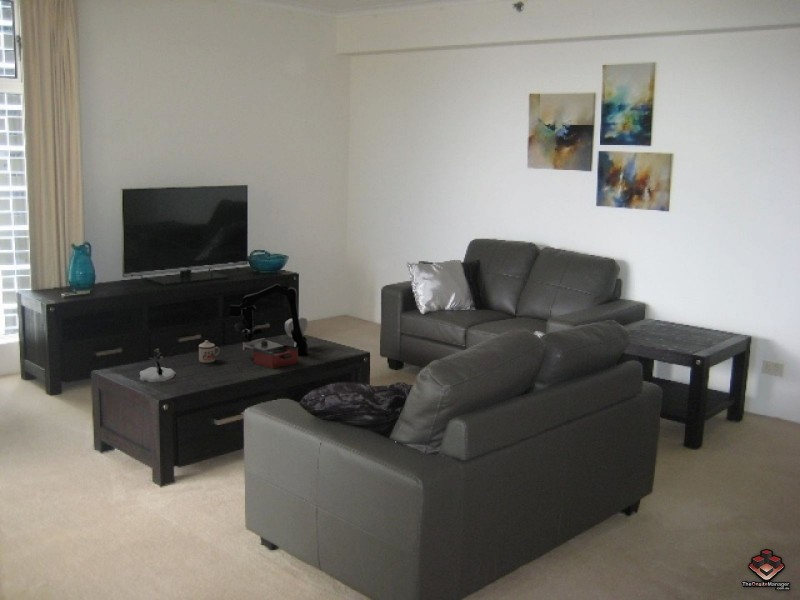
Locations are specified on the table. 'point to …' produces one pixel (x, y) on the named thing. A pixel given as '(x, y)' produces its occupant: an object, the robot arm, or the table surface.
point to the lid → (261, 345)
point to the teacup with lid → (207, 352)
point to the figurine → (157, 371)
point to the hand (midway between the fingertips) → (248, 343)
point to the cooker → (276, 356)
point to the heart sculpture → (290, 326)
